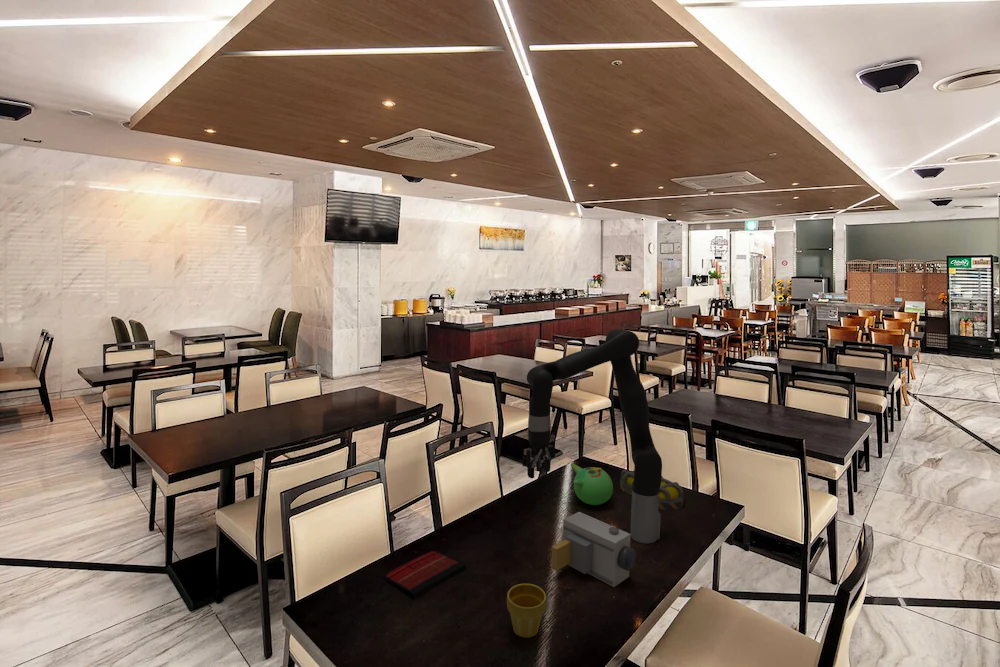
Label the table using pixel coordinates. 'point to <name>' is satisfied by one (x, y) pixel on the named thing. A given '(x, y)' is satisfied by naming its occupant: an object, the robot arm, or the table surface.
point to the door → (573, 554)
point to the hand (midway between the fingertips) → (539, 474)
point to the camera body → (603, 547)
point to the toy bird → (592, 485)
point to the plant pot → (526, 608)
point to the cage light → (667, 492)
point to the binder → (424, 573)
